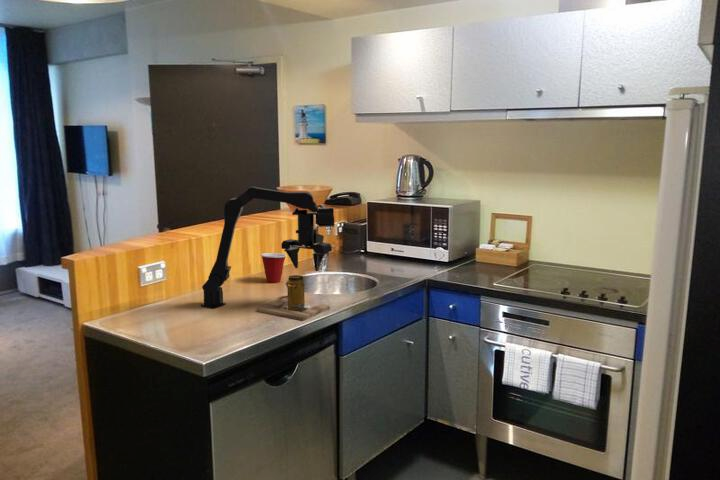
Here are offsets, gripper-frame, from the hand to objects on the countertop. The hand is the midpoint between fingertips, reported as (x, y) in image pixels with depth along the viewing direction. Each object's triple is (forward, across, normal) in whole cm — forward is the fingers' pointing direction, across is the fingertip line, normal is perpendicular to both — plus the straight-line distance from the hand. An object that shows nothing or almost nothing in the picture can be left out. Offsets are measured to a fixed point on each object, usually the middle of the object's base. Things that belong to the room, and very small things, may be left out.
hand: (306, 269), depth 211 cm
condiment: (+14, 0, +6) cm, 15 cm away
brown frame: (+13, 0, +8) cm, 15 cm away
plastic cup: (+13, +33, -21) cm, 41 cm away
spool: (+13, +10, -5) cm, 17 cm away
